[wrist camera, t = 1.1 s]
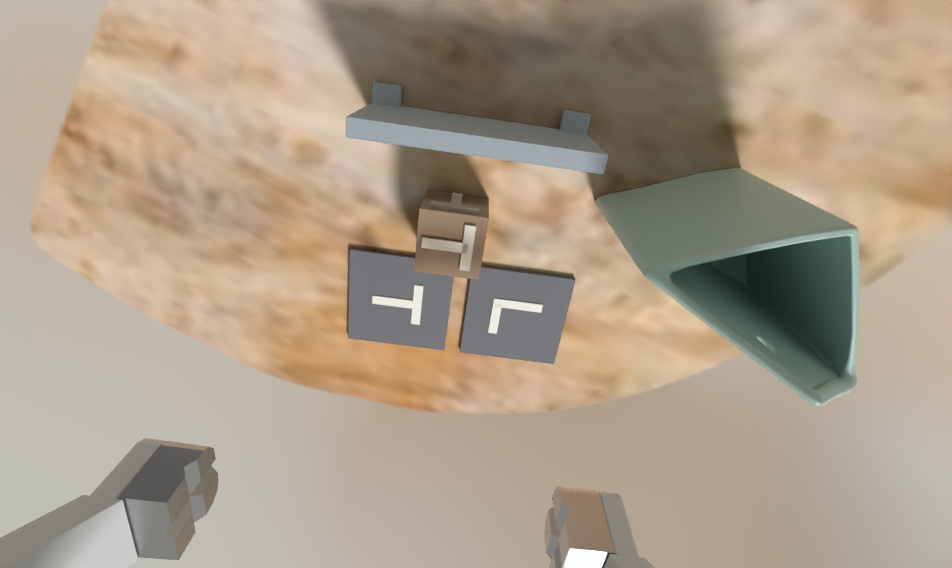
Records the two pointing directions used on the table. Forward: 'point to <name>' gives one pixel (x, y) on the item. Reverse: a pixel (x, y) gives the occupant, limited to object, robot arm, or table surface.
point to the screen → (477, 133)
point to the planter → (752, 271)
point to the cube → (451, 234)
